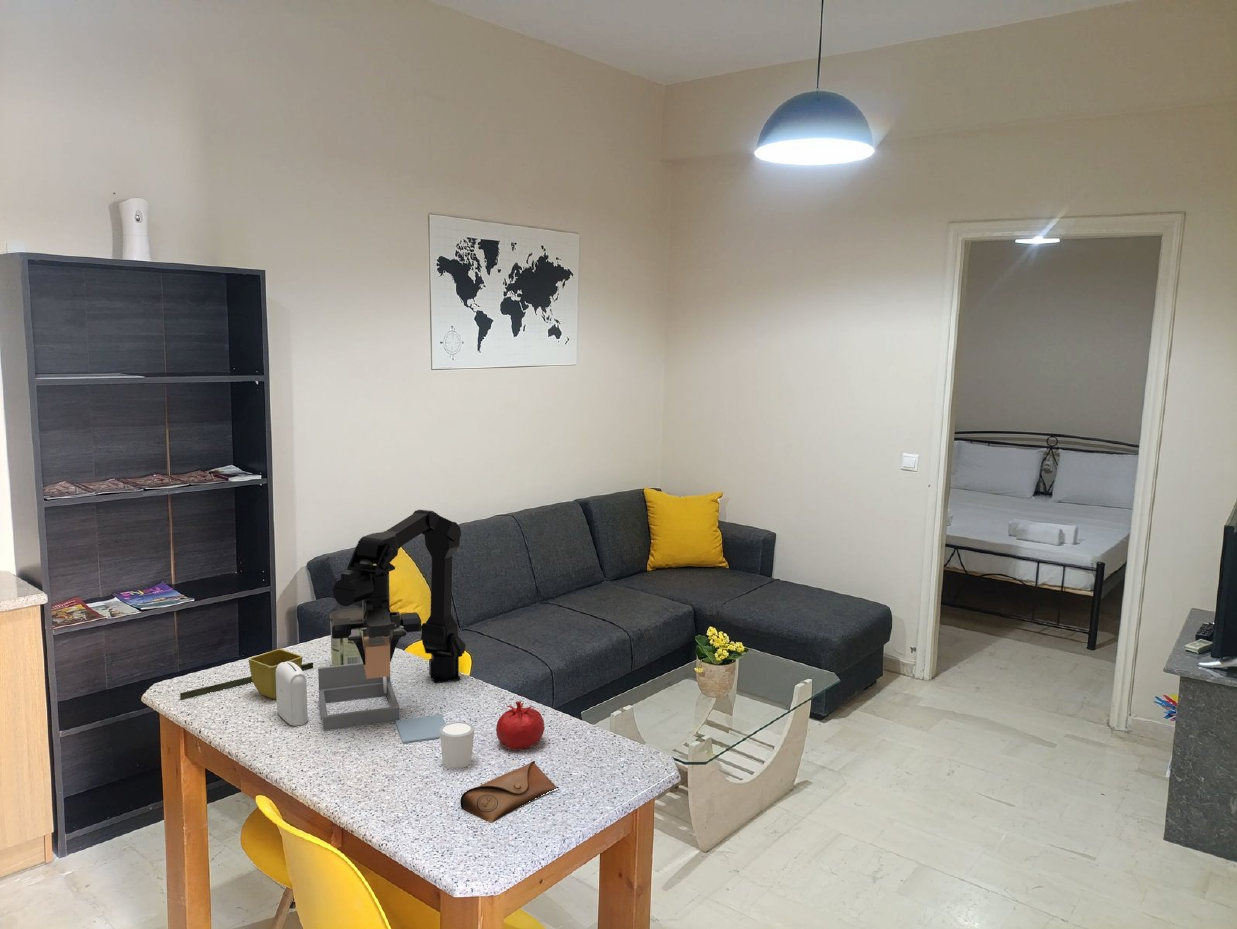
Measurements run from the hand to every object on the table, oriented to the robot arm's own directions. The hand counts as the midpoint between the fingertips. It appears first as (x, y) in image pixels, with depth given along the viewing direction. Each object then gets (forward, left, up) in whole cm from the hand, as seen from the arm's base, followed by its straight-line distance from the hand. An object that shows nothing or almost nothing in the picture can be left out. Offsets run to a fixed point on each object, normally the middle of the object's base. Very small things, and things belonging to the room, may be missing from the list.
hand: (377, 662), depth 194 cm
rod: (+27, -29, -13) cm, 42 cm away
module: (0, 0, -2) cm, 2 cm away
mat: (-8, +10, -12) cm, 18 cm away
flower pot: (+21, -20, -13) cm, 32 cm away
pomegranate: (-26, +23, -13) cm, 37 cm away
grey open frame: (+4, -4, -12) cm, 14 cm away
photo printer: (+18, -5, -13) cm, 22 cm away
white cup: (-12, +27, -13) cm, 32 cm away
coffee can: (+3, -32, -13) cm, 35 cm away
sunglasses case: (-19, +44, -13) cm, 49 cm away
